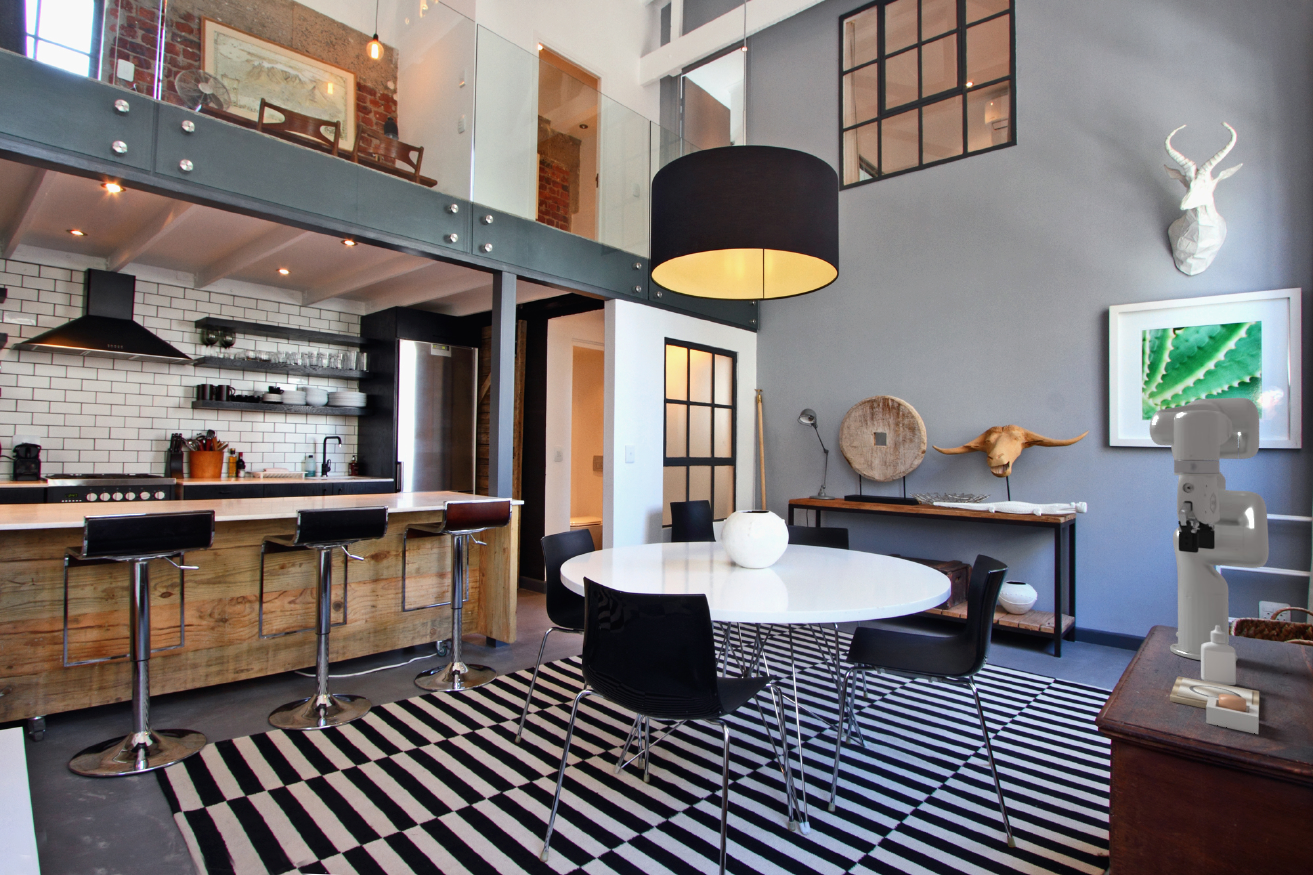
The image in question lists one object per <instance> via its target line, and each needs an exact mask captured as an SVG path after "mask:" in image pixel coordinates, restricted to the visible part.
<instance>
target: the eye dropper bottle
mask: <svg viewBox="0 0 1313 875" xmlns="http://www.w3.org/2000/svg"><path fill="white" fill-rule="evenodd" d="M1236 655H1237V654H1236V649H1235V648H1234V647H1233V646H1231V645H1227V644H1225V633H1224V632H1222V631H1221V628H1220V626H1217V625H1216V627H1215V630H1214V631H1211V642H1207V643H1204V644H1202V645H1201V660H1200V678H1201V680H1202V681H1206V682H1211V683H1217V684H1222V685H1228V686H1235V685H1237V661H1236Z"/></svg>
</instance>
